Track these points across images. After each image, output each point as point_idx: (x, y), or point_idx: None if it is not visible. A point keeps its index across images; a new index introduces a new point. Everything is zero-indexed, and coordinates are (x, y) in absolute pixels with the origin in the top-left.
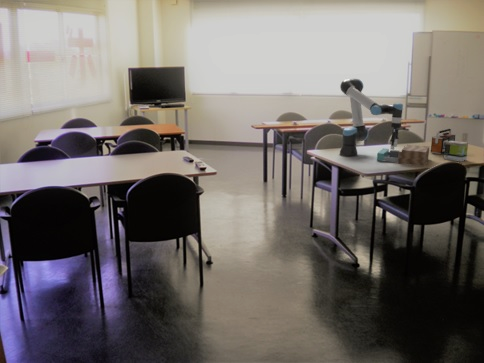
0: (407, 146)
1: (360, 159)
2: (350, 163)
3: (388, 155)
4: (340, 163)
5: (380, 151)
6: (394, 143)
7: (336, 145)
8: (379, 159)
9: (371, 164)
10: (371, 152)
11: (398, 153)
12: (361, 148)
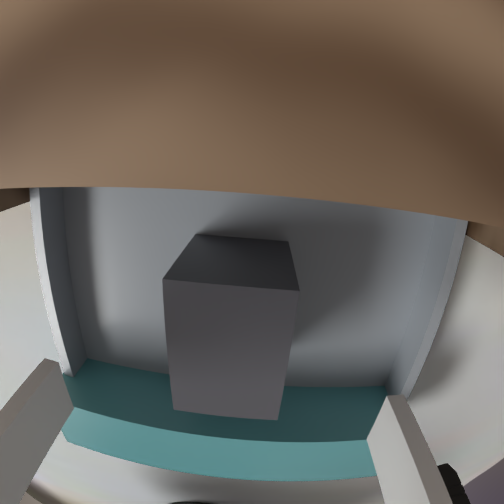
0: (40, 119)
1: (339, 485)
2: (457, 474)
3: (117, 358)
4: None
5: (276, 475)
6: (450, 498)
7: (38, 500)
8: None
9: (494, 402)
10: None
11: (295, 274)
12: None
